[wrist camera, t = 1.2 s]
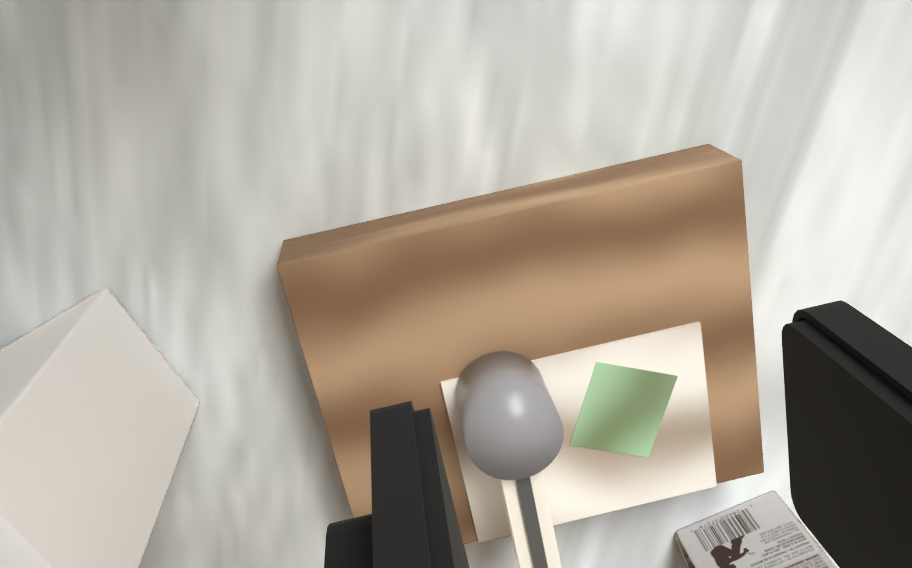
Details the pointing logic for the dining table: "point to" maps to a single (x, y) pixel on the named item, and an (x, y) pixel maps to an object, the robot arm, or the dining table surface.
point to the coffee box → (751, 538)
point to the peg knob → (514, 445)
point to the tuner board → (548, 330)
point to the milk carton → (86, 439)
